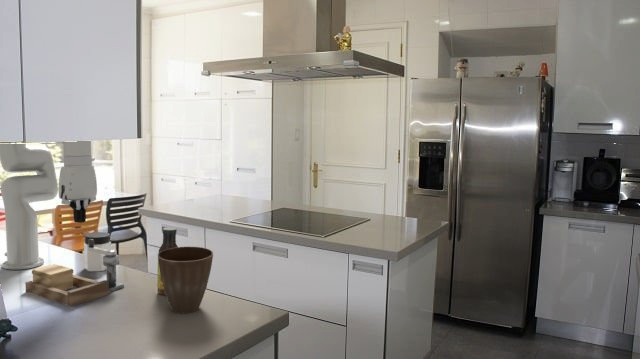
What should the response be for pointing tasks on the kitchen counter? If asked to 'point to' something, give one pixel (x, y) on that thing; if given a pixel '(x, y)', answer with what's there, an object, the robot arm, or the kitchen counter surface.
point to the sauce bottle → (168, 243)
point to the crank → (100, 249)
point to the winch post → (112, 272)
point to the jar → (94, 259)
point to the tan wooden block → (54, 276)
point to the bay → (84, 292)
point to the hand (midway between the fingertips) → (79, 221)
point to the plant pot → (185, 276)
